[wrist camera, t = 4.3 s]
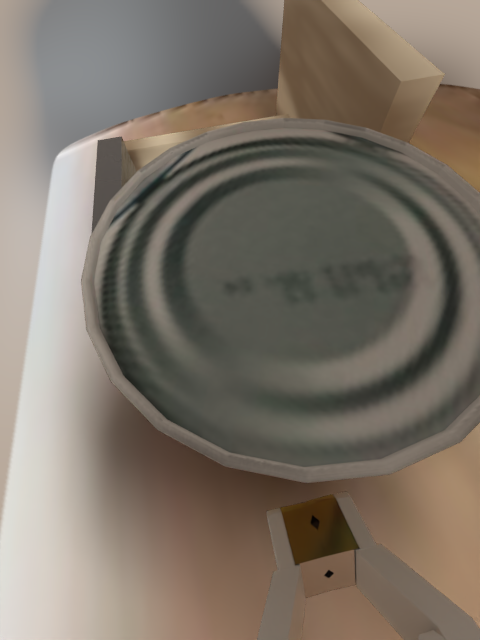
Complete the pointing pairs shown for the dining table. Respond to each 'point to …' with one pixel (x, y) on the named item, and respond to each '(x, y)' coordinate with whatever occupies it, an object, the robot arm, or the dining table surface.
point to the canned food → (293, 299)
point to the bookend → (110, 173)
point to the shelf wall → (336, 75)
